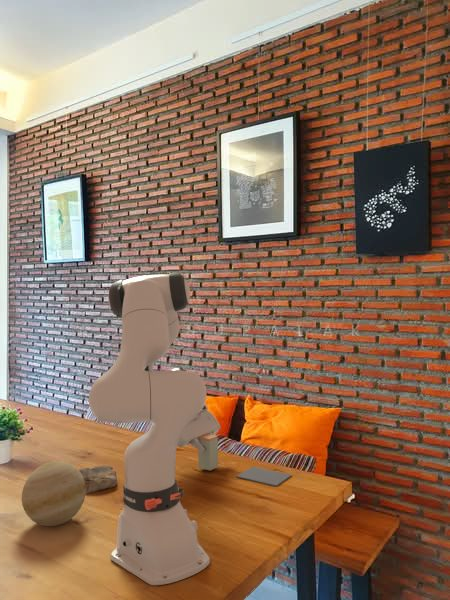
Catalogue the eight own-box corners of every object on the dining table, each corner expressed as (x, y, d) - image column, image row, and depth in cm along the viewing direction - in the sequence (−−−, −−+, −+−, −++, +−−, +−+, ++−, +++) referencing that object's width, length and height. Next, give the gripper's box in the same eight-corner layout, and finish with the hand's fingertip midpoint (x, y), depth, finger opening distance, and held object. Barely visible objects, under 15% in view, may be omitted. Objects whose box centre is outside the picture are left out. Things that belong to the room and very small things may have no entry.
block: (218, 466, 155) (217, 435, 156) (210, 470, 152) (209, 438, 152) (207, 464, 158) (206, 433, 158) (198, 468, 154) (198, 436, 154)
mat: (291, 476, 148) (291, 474, 148) (276, 486, 140) (276, 485, 140) (253, 467, 156) (253, 466, 156) (236, 477, 148) (236, 476, 148)
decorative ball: (60, 542, 110) (59, 476, 110) (8, 532, 114) (7, 470, 114) (98, 514, 124) (97, 455, 124) (50, 506, 129) (49, 451, 129)
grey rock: (49, 503, 132) (122, 488, 141) (49, 485, 132) (121, 471, 141) (44, 487, 145) (111, 474, 153) (44, 470, 145) (110, 459, 153)
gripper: (170, 415, 150) (195, 451, 145) (208, 403, 167) (232, 435, 162) (159, 427, 153) (183, 464, 147) (199, 415, 170) (222, 447, 164)
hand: (209, 449), depth 155 cm, fingers closed on block, 4 cm apart
